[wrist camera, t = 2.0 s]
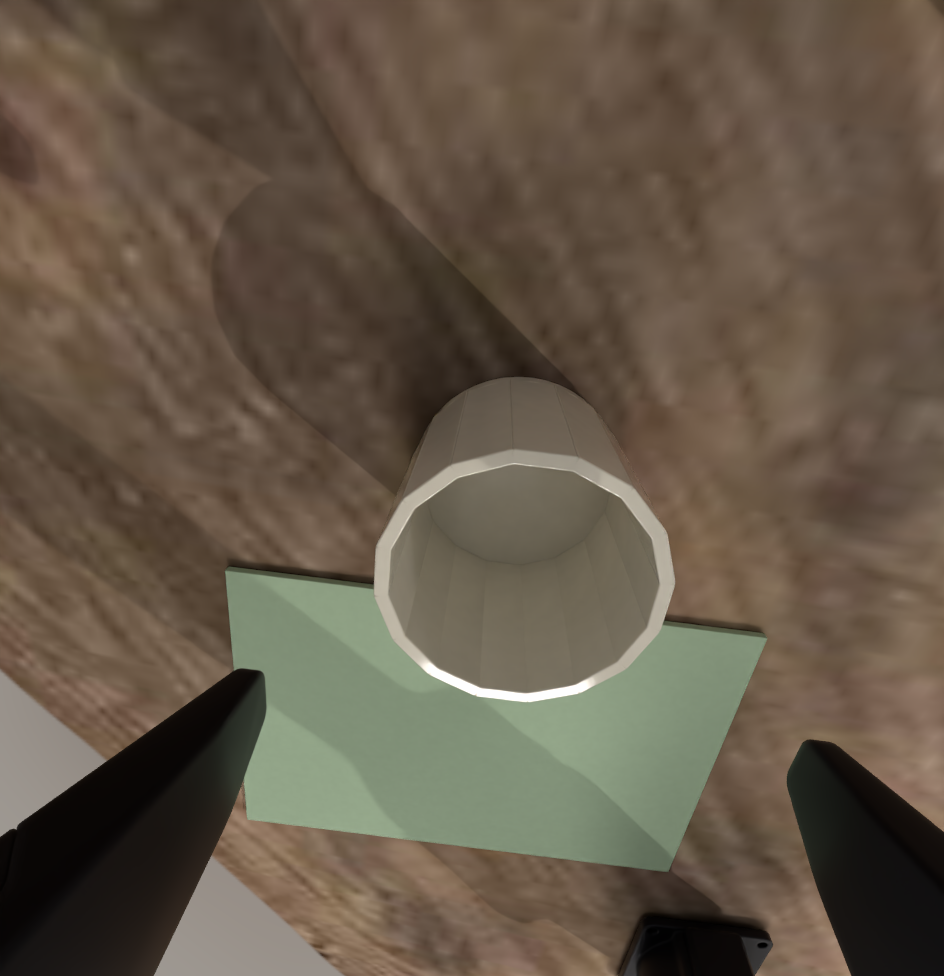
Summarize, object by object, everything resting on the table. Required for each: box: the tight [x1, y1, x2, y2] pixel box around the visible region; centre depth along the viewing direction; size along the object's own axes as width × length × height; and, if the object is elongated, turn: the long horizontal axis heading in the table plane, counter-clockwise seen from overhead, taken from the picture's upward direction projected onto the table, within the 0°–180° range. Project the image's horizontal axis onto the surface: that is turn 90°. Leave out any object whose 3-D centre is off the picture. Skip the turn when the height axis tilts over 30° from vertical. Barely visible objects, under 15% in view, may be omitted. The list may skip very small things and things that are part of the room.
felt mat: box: [225, 567, 767, 872], centre depth 23 cm, size 14×20×1 cm
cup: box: [373, 377, 675, 702], centre depth 15 cm, size 7×7×6 cm
